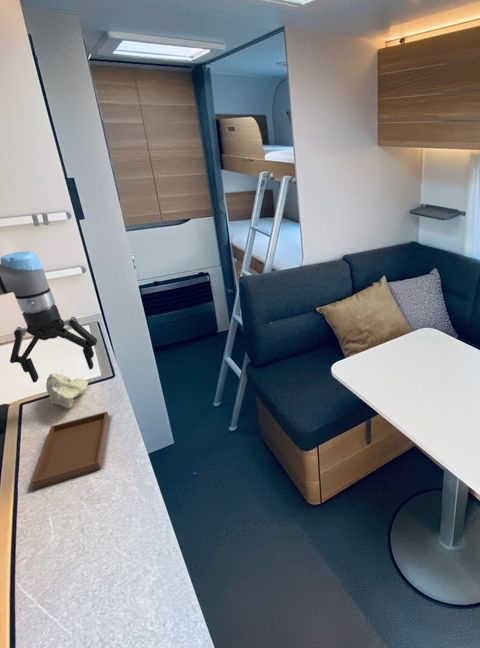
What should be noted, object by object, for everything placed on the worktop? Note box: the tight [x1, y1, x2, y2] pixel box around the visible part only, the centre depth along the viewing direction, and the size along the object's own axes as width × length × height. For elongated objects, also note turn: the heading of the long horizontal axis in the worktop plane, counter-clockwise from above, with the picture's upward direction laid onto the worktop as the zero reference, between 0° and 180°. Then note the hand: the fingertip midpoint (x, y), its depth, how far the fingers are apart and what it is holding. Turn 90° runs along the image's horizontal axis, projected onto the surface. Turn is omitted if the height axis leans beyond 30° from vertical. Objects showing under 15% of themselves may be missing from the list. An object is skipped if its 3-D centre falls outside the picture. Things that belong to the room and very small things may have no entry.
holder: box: [30, 411, 110, 490], centre depth 105 cm, size 13×21×2 cm, turn 26°
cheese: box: [45, 372, 89, 409], centre depth 123 cm, size 15×7×15 cm
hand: (64, 373), depth 120 cm, fingers open, 13 cm apart
